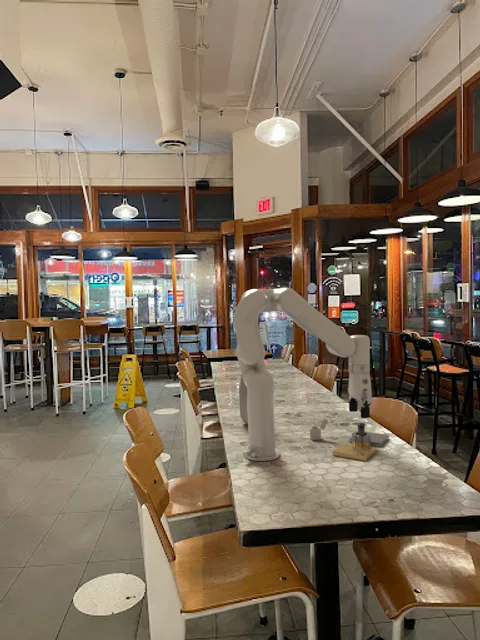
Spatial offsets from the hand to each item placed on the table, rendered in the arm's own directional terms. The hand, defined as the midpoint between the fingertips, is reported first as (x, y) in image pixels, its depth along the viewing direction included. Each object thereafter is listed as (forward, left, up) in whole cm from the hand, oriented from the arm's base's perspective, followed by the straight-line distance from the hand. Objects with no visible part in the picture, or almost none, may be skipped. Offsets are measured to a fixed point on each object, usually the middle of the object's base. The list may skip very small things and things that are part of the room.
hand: (359, 414), depth 165 cm
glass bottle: (+8, +53, -13) cm, 56 cm away
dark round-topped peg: (0, -1, -12) cm, 12 cm away
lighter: (+2, +17, -13) cm, 22 cm away
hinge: (0, -1, -12) cm, 12 cm away
